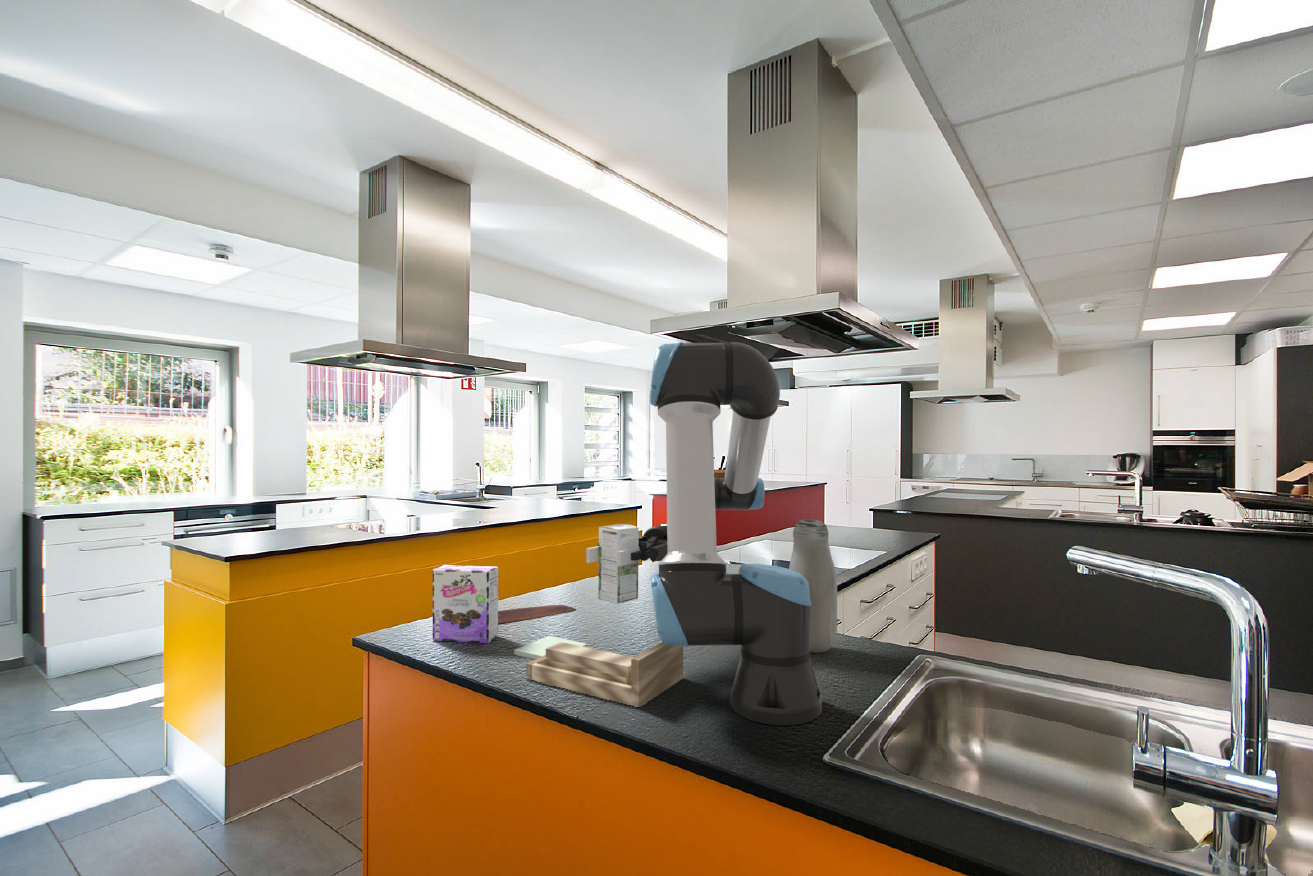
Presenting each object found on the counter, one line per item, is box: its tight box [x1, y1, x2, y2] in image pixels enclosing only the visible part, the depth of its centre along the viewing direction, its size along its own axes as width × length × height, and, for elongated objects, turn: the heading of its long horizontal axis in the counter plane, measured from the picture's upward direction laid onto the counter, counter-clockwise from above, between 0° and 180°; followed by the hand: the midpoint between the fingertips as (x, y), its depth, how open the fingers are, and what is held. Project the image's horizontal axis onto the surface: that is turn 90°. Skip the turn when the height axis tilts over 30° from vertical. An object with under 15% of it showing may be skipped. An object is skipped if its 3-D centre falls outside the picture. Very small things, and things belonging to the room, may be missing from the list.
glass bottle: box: [788, 518, 838, 654], centre depth 132 cm, size 10×10×28 cm
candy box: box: [432, 564, 499, 644], centre depth 142 cm, size 14×6×16 cm, turn 80°
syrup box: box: [597, 523, 640, 604], centre depth 122 cm, size 6×6×14 cm
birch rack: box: [525, 641, 684, 708], centre depth 117 cm, size 26×16×8 cm, turn 59°
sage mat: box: [513, 635, 589, 660], centre depth 133 cm, size 11×11×1 cm
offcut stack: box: [544, 642, 635, 686], centre depth 114 cm, size 20×4×6 cm, turn 58°
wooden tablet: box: [498, 604, 577, 625], centre depth 162 cm, size 26×2×10 cm
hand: (603, 557), depth 118 cm, fingers closed on syrup box, 7 cm apart
